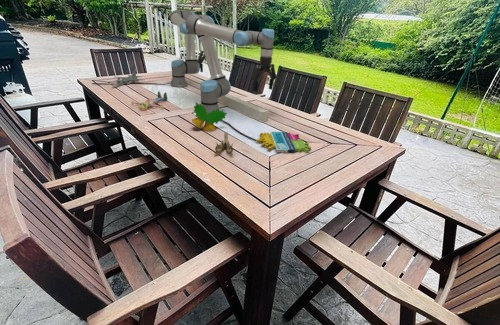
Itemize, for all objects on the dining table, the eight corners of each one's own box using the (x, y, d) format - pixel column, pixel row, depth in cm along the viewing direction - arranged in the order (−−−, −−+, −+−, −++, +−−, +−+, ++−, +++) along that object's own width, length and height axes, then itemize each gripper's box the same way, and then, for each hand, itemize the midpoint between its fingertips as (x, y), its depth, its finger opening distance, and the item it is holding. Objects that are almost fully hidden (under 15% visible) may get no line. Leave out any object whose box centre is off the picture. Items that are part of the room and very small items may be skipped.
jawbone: (234, 135, 144) (233, 125, 135) (233, 160, 138) (232, 151, 129) (217, 135, 144) (216, 125, 135) (216, 160, 138) (214, 150, 129)
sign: (313, 150, 142) (258, 149, 139) (312, 153, 143) (258, 152, 140) (301, 132, 164) (254, 130, 161) (301, 134, 165) (254, 133, 162)
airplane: (108, 79, 258) (106, 69, 253) (142, 77, 271) (140, 67, 266) (110, 89, 230) (108, 78, 224) (148, 87, 243) (146, 76, 238)
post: (267, 120, 184) (268, 110, 180) (261, 122, 180) (262, 112, 177) (209, 94, 234) (209, 86, 231) (203, 95, 231) (203, 86, 227)
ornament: (218, 133, 171) (224, 110, 169) (221, 134, 163) (227, 111, 161) (186, 125, 162) (192, 101, 160) (189, 126, 155) (195, 101, 153)
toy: (179, 93, 205) (158, 103, 179) (179, 102, 208) (159, 113, 183) (147, 89, 210) (122, 98, 184) (148, 98, 213) (124, 108, 188)
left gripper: (218, 43, 219) (218, 69, 229) (192, 43, 204) (193, 71, 215) (223, 44, 214) (223, 71, 224) (196, 44, 200) (197, 73, 210)
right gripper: (276, 54, 174) (272, 87, 184) (247, 56, 159) (245, 91, 170) (284, 56, 169) (280, 89, 179) (255, 58, 155) (252, 93, 165)
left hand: (208, 71), depth 220 cm, fingers open, 13 cm apart
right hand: (263, 90), depth 175 cm, fingers open, 13 cm apart
